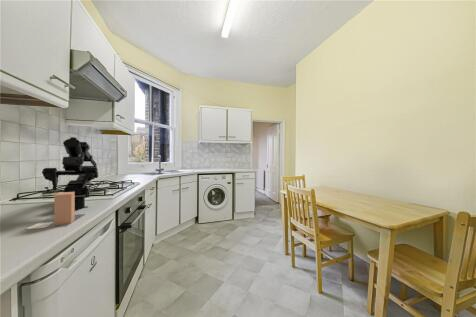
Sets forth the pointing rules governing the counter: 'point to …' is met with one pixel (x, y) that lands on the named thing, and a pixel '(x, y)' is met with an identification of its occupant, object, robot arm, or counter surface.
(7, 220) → the counter surface
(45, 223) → the baseplate
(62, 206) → the column
